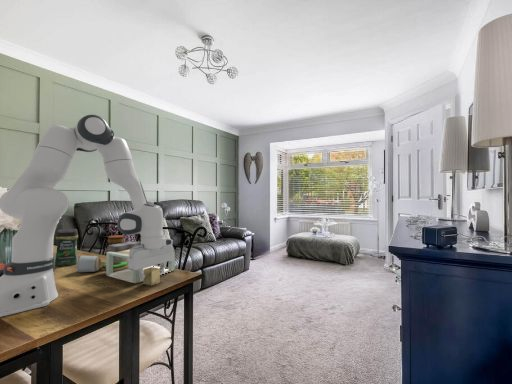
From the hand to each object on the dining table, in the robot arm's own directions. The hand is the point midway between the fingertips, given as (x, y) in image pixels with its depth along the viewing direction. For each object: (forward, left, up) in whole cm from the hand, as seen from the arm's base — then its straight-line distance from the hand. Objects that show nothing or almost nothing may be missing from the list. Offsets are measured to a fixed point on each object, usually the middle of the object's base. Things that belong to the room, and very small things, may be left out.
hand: (152, 275), depth 111 cm
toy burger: (+8, +40, -3) cm, 41 cm away
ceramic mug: (-4, +40, -3) cm, 41 cm away
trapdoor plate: (+6, +19, +5) cm, 21 cm away
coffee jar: (-4, +63, -3) cm, 63 cm away
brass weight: (-1, 0, -3) cm, 3 cm away
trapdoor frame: (+6, +16, -3) cm, 17 cm away
